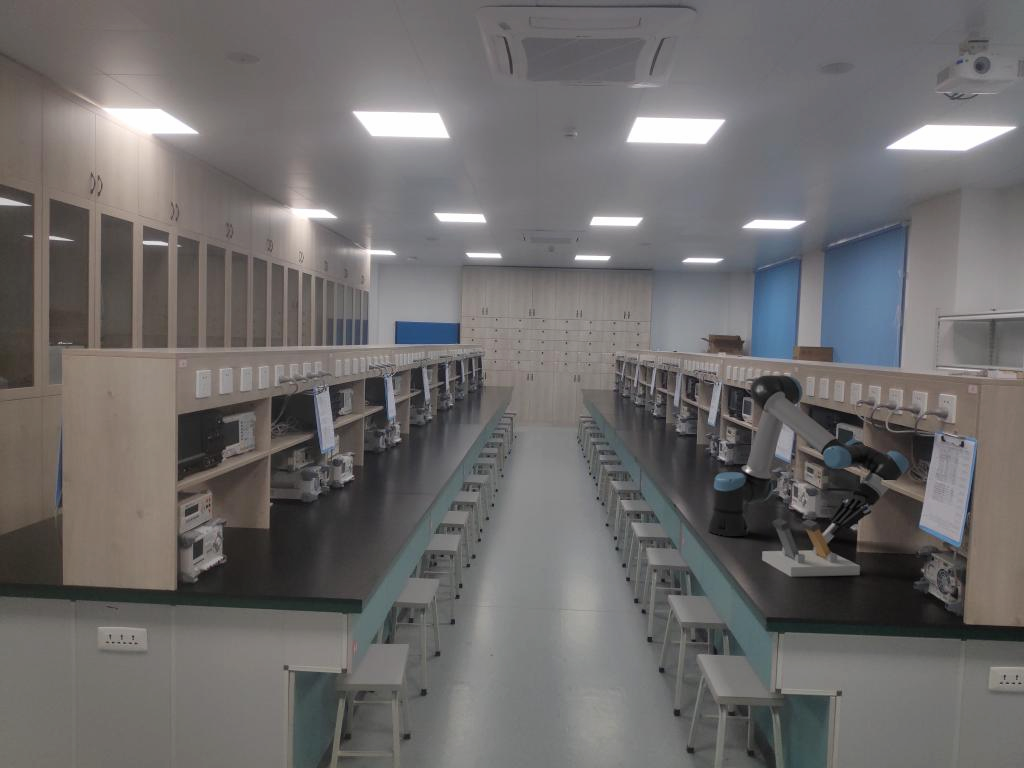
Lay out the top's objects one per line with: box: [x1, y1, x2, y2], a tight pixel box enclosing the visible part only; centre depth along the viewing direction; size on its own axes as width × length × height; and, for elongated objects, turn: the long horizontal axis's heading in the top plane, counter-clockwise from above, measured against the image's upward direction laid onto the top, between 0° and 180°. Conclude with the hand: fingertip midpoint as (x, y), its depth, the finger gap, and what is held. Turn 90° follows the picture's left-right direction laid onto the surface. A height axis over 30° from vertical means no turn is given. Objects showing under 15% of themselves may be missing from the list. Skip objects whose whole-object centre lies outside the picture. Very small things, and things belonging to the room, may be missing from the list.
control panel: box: [761, 546, 861, 578], centre depth 214 cm, size 17×24×6 cm
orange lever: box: [801, 518, 832, 558], centre depth 214 cm, size 5×3×13 cm, turn 8°
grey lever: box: [772, 517, 799, 559], centre depth 212 cm, size 5×3×13 cm, turn 8°
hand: (823, 540), depth 214 cm, fingers closed
